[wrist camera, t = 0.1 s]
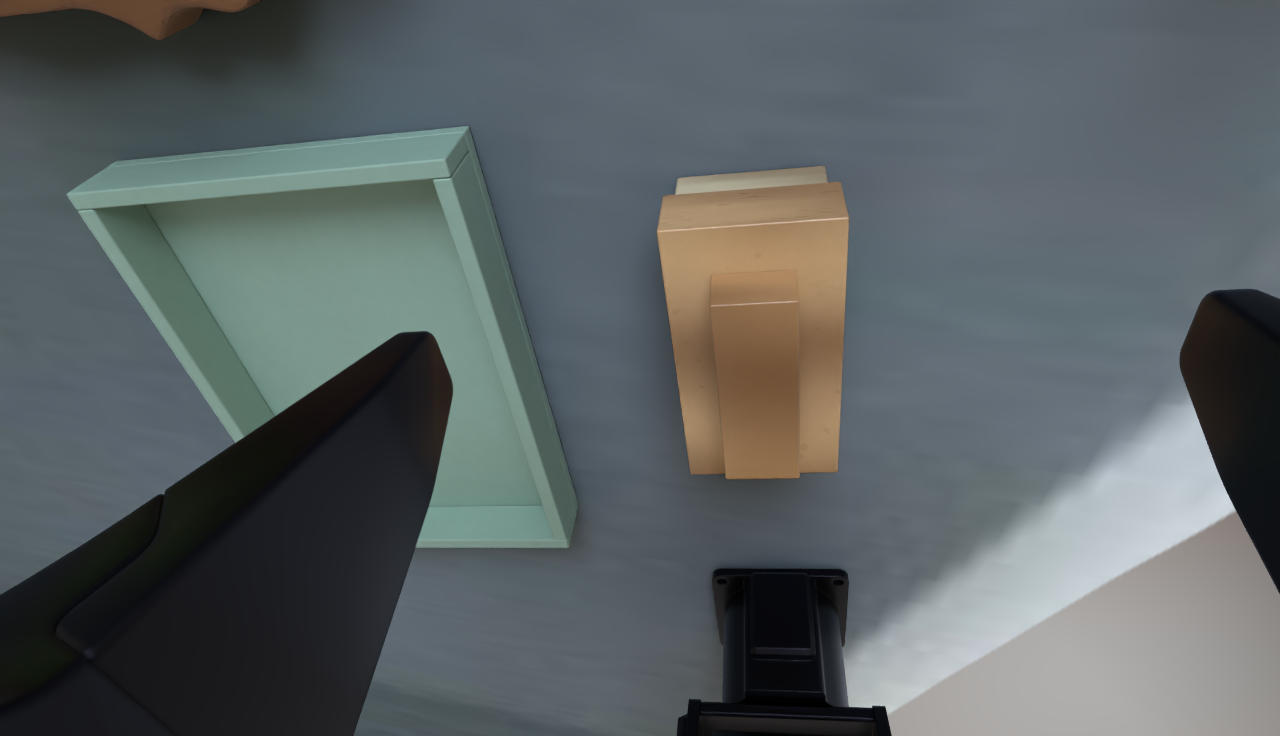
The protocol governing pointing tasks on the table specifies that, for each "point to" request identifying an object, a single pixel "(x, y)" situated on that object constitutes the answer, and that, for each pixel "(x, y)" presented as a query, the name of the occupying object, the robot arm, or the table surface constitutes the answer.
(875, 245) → the table surface
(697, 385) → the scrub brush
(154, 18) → the plant
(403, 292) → the tray
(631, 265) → the table surface
